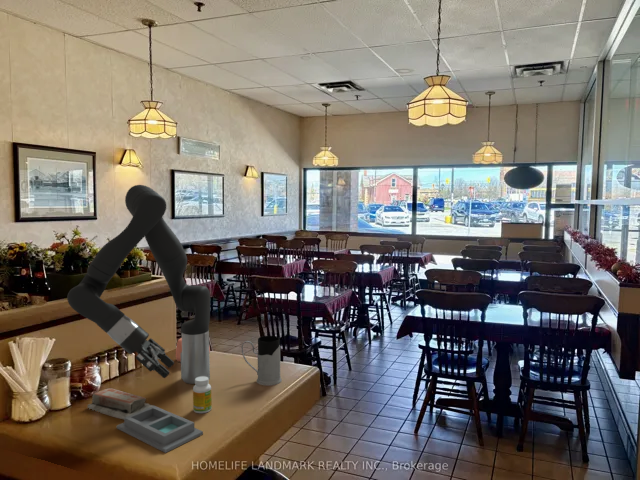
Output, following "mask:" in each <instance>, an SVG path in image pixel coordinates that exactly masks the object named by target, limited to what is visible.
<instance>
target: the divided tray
mask: <svg viewBox="0 0 640 480" xmlns="http://www.w3.org/2000/svg"><path fill="white" fill-rule="evenodd" d="M116 429H117V430H119V431H121V432H123V433H125V434H127V435H129V436H131V437H133V438H135V439H138V440H139V441H141V442H143V443H145V444H147V445H149V446H151V447H152V448H154V449H157V450H159V451H161V452H162V453H164V454H166V453H168V452H171V451H172V450H174V449H177V448H178V447H180V446H182V445H185V444H186V443H188V442H191V441H192V440H194V439H196V438H199V437H200V436H203V434H204V430H203V431H202V430H201V429H199V428H196V427H195V422H194V421H191V420H189V419H186V418H184V417H182V416H179V415H178V414H175V413H173V412H171V411H167V410H165V409H163V408H161V407H158V406H156V405H154V406H152V407H150V408H147V409H145V410H142V411H140V412H137V413H135V414H132V415H130V416H127V417H125V418H124V421H123V422H122V423H119V424H117V425H116Z"/></svg>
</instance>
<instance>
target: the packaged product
mask: <svg viewBox="0 0 640 480" xmlns="http://www.w3.org/2000/svg"><path fill="white" fill-rule="evenodd" d="M91 398H92V400H91V403H89V404H87V409H88V408H89V409H88V410H90V409H92V410H91V411H94V410H95V411H94V412H97V411H98V412H97V413H99V412H100V413H99V414H104V415H107V416H110V417H113V418H116V419H119V420H120V419H121V420H124V418H125V417H127V416H130V415H132V414H135V413H137V412H140V411H142V410H145V409H147V408H150V407H152V406H155V405H154V404H150V403H147V402H146V401H147V398H146V397H143V396H141V395H138V394H133V393H129V392H125V391H121V390H119V389H115V388H112V387H110V388H105V389H101V390H100V391H96V392H94V393H93V394H92V397H91Z"/></svg>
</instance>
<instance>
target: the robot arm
mask: <svg viewBox="0 0 640 480" xmlns="http://www.w3.org/2000/svg"><path fill="white" fill-rule="evenodd" d="M124 203H125V206H126V210H128V212H129V214H131V216H132V218H131V219H130V222H129V223H128V224H127V225H126V227H125V228H124V230H122V231H121V232H120V233H119V234H118V235H116V236H115V237H114V238H112V239H111V240H109V241H108V242H106V243H105V244H104V245H103V246H102V247H101V248H100V249H99V251H98V252H97V254H96V255H95V256H94V258H93V259H92V261H91V262H90V264H89V265H88V267H87V270H86V274H84V276H83V278H82V279H81V281H80V282H79V284H78V285H76V286H74V287H73V288H71V289H70V290H69V291H68V293H67V297H66V299H67V303H68V305H69V306H70V308H71V309H72V310H74V311H75V312H77V314H80V315H81V316H83V317H84V318H86V319H87V320H89V321H91V322H93V323H95V324H96V325H97V326H98V327H99V328H100V329H101V330H103V332H105V333H106V334H107V335H108V336H109V337H110V338H111V339H112V341H113V342H115V343H116V344H117V345H119V346H120V347H121V348H122V349H123V350H124V351H125V352H127V353H128V354H129V355H132V354H134V353H135V352H136V353H137V355H136V356H135V359H136V360H137V361H138V362H139V363H140V364H141V365H142V366H144V367H145V368H146V369H147V370H148V371H149V372H152V371H154V372H156V373H157V374H158V375H160V376H161V377H162V378H163V379H166V378H168V376H169V375H170V371H169V370H168V369H170V368H172V366H174V364H175V361H174V360H172V359H171V358H170V357H169V356H168V355H167V354H166V352H165V351H166V349H165V348H163V346H161V345H160V344H159V343H158V342H156V341H155V340H154V339H152V337H150V334H149V333H148V332H147V331H146V330H145V329H144V328H142V327H141V326H140V325H139V324H138V323H137V322H136V321H134V320H133V319H132V318H130V317H129V316H127V315H126V314H125V313H123V312H122V310H120V308H118V307H117V306H116V305H114V304H113V303H108V302H106V301H104V300H103V299H102V298H101V297H102V295H103V292H104V291H105V290H106V288H107V285H108V283H109V282H110V281H111V279H112V278H113V277H114V276H115V274H116V273H117V271H118V270H119V268H120V267H121V265H122V264H123V262H124V261H125V259H126V258H127V257H128V256H129V254H130V253H131V252H132V251H133V249H135V248H136V246H137V245H138V244H139V243H140V242H141V241H142V240H143V239H144V238H145V241H146V242H147V245H148V247H149V250H150V252H151V254H152V256H153V258H154V260H155V262H156V264H157V265H158V268H159V270H160V271H161V272H162V274H163V276H164V279H165V280H166V283H167V285H168V288H169V290H170V291H169V292H170V293H171V296H172V299H173V301H174V303H175V305H176V308H177V309H178V310H179V311H181V312H185V313H194V318H193V319H190V320H187V321H185V322H183V323H182V324H181V330H180V331H181V338H182V352H181V362H180V376H181V377H180V378H181V379H182V381H183V382H184V383H185V384H190V385H191V384H192V385H194V384H195V379H196V378H197V377H201V376H205V377H208V378H209V380H210V377H211V371H210V369H211V368H210V365H211V364H210V362H211V361H210V354H209V346H210V332H209V331H210V328H209V326H210V321H211V293H210V290H209V288H208V287H207V286H205V285H192V284H191V285H189V284H187V283H186V281H185V279H184V273H185V271H186V268H187V266H188V265H187V264H188V257H187V253H186V251H185V249H184V246H183V245H182V243H181V241H180V240H179V238H178V237H177V236H176V234H175V232H174V231H173V230H172V228H171V227H170V226H169V225H168V223H166V221H165V219H164V215H165V213H166V211H167V202H166V200H165V198H164V197H163V196H162V195H161V194H159V193H158V192H157V191H156V190H154V189H153V188H151V187H149V186H148V185H147V186H146V185H143V184H137V185H133V186H131V187H130V188H129V189H128V190H127V192H126V195H125V198H124ZM149 337H150V338H149ZM148 338H149V339H148ZM147 339H148V340H147ZM160 362H161V363H162V364H163V365H162V364H161V363H160ZM164 365H165V366H166V367H167V368H166V367H165V366H164ZM195 385H196V384H195Z"/></svg>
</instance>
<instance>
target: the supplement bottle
mask: <svg viewBox="0 0 640 480" xmlns="http://www.w3.org/2000/svg"><path fill="white" fill-rule="evenodd" d="M209 381H210V379H209V378H208V377H205V376H201V377H197V378H196V379H195V385H193V387H192V408H193V412H194V413H195V414H206V413H209V412H210V411H211V410H212V408H213V407H212V406H213V405H212V402H213V401H212V399H213V398H212V386H211V384H210V383H209Z"/></svg>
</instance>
